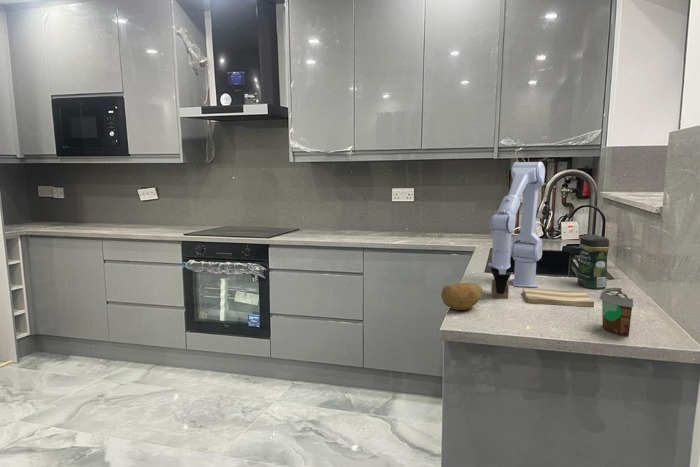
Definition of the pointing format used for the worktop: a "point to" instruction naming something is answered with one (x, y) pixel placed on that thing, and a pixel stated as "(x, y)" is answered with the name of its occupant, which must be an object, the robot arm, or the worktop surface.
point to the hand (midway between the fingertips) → (499, 291)
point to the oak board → (557, 297)
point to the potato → (461, 295)
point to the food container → (616, 311)
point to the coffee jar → (593, 261)
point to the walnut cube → (494, 292)
